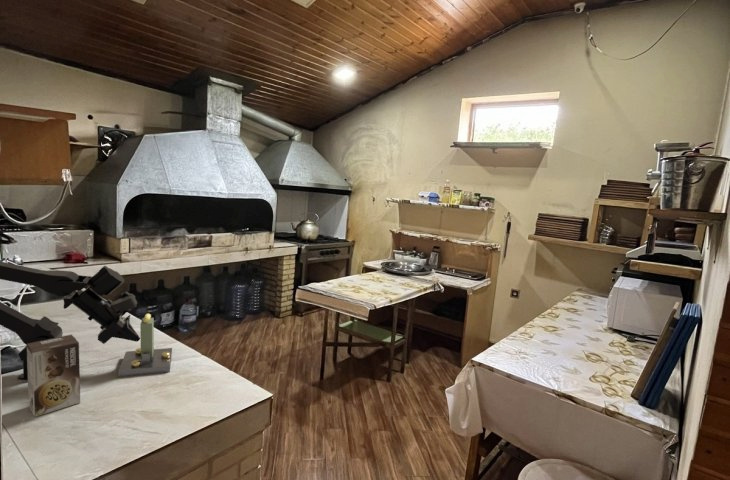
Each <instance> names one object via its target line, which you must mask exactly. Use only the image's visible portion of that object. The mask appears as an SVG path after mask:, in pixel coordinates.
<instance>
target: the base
mask: <svg viewBox="0 0 730 480" xmlns="http://www.w3.org/2000/svg"><path fill="white" fill-rule="evenodd" d="M172 357H173V348H172V347H169V348H168V347H166V348H154V353H153V357H152V358H150V352H148V353H142V359H141V347H139V348H136V349H135V350H132V351H131V350H130V351H125V353H124V356H123V358H122V360H121V364H120V365H119V369H118V378H124V377H134V376H144V375H153V374H154V375H155V374H164V373H170V372H171V365H172V359H173V358H172Z"/></svg>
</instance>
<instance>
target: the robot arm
mask: <svg viewBox="0 0 730 480" xmlns="http://www.w3.org/2000/svg"><path fill="white" fill-rule="evenodd" d="M0 280H2V281H7V282H13V283H19V284H21V285H22V284H24V285H27V286H28V285H29V286H33V287H36V288H38V289H39V290H41V291H43V292H45V293H48V294H51V295H54V296H57V297H64V298H63V307H62V308H63V309H67V308H69V306H71V305H73V306H74V307H76V308H77V309H78V310H80V311H81V312H83V313H84V314H86V315H87V316H88V317H87V320H89V321H92V320H93V321H95V322H96V323H97V324H98V325H100V326H99V329H101V330H99V333H98V335H97V340H98V341H99V342H100V343H101V344H103V345H105V344H106V343H107V342H108V341H109V340H110V339H112V338H114V339H115V338H116V339H122V340H126V341H127V340H128V341H131V342H136V343H137V342H139V341H141V336H139V334H138V333H137V332H136V330H135V329H134V326H132V324H131V314H129V315H127V316H125V314H127V313H129V312H131V310H132V309H134V308H136V307H137V304H138V301H137V299H136V295H135V294H133V293H129V291H124V292H122V293H121V294H120V298H118V299H117V300H115V301H112V299H107V300H106V299H104V298H103V297H102V296H109V295H110V294H112V293H113V291H115V290H116V289H117V288H119V287H120V286H121V285H122V284H123V283H125V279H124V277H123V276H122V275H121V273H119V272H118V271H117V270H115V269H112V268H109V267H108V266H106V265H103V266H102V267H101V268H100V269H99V270H98V271H97V272H96V273H95V274H94V275H92V276H91V275H80V274H77V273H76V272H74V271H71V270H70V271H69V270H60V269H59V270H57V269H56V270H54V269H53V270H44V269H43V270H42V269H37V268H32V267H29V266H23V265H20V264H19V265H18V264H13V263H10V262H4V261H0ZM87 286H88V287H87ZM86 287H87V288H86ZM84 288H85V289H84ZM72 293H73V294H72ZM70 294H72V295H70ZM69 295H70V296H69ZM59 324H60V323H59V322H55V321H53V320H52V319H50V318H48V317H47V316H42V317H41V318H40V319H37V318H36V319H35V318H32V317H29V316H27V315H25V314H24V313H22V312H20V311H18V310H16V309H14V308H13V307H10V306H9V305H7V304H5V303H3V302H1V301H0V326H1V327H3V328H5V329H7V330H9V331H11V332H13V333H15V334H16V335H17V336H18V337H19V339H20V340H21V342H23V344H25V345H26V346H24V348H22V350H20V351H19V353H18V357H19V359H20V360H21V361H22V368H23V371H22V373H21V374H20V375H19V376H17V380H28V369H27V344H28V343H33V342H38V341H42V340H47V339H52V338H57V337H62V336H63V329H62V327H61V326H60V325H59Z"/></svg>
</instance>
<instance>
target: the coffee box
mask: <svg viewBox="0 0 730 480" xmlns="http://www.w3.org/2000/svg"><path fill="white" fill-rule="evenodd" d="M27 369H28V379H27V388H28V389H27V393H28V407H29V409H30V411H31V413H32V415H33V416H34V417H35V418H36V417H40V416H41V415H46V414H48V413H52V412H55V411H58V410H61V409H65V408H68V407H70V406H74V405H76V404H79V403H81V377H80V376H81V373H80V342H79V341H78V340H77V339H76V337H75V336H74V335H73V334H68V335H62V337H57V338H52V339H47V340H42V341H38V342H33V343H28V344H27Z"/></svg>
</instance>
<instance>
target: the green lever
mask: <svg viewBox="0 0 730 480" xmlns="http://www.w3.org/2000/svg"><path fill="white" fill-rule="evenodd" d="M154 325H155V321H154V317H152V314H150V313H146V314H145V315H144V317H143V318H142V319H141V322H140V325H139V326H140V348H141V359H142V353H148V352H150V358H152V357H153V353H154V349H155V347H154V346H155V345H154V344H155V342H154V341H155V340H154V339H155V338H154V337H155V336H154V335H155V333H154V332H155V331H154V330H155V328H154V327H155V326H154Z"/></svg>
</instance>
